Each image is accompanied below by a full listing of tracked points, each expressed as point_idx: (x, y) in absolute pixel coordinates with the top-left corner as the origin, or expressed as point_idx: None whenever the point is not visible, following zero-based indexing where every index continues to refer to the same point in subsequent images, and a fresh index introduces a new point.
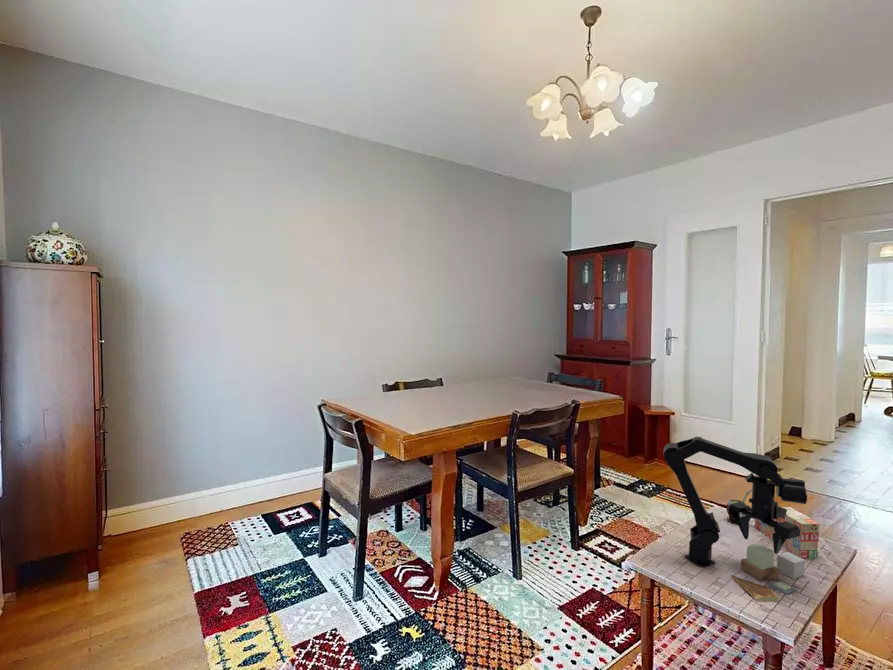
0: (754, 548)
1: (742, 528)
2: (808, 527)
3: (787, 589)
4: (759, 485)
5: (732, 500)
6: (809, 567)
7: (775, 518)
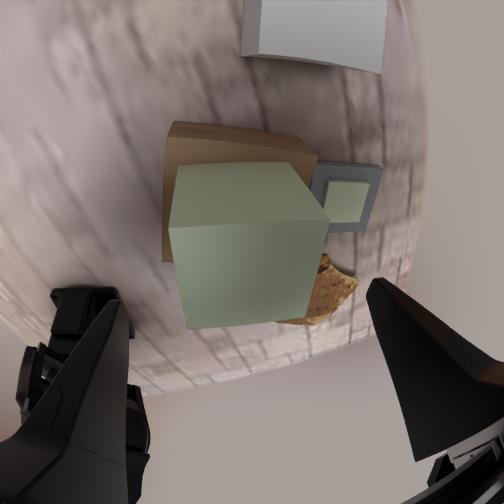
0: (230, 315)
1: (123, 428)
2: None
3: (361, 205)
4: None
5: None
6: None
7: None
